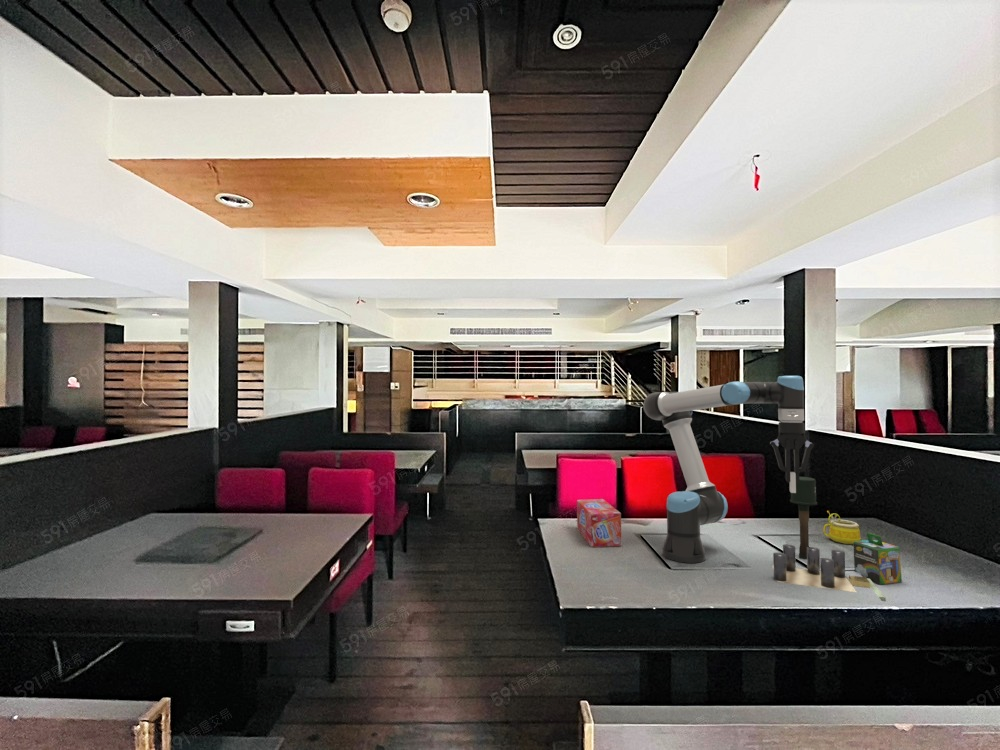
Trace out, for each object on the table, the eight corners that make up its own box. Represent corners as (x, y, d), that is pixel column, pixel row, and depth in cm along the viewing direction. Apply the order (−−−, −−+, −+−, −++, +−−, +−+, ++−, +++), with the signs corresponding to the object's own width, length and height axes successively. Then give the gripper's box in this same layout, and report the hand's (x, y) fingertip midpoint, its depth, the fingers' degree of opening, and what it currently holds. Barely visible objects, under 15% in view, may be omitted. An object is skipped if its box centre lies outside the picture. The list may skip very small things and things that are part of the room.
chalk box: (902, 583, 158) (901, 537, 159) (880, 585, 156) (878, 539, 157) (874, 572, 167) (873, 529, 168) (853, 575, 165) (852, 530, 166)
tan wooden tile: (852, 586, 153) (852, 580, 153) (848, 581, 157) (848, 575, 157) (870, 589, 151) (870, 582, 151) (866, 583, 155) (865, 577, 155)
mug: (859, 540, 204) (859, 511, 204) (862, 547, 194) (861, 517, 195) (823, 535, 211) (822, 507, 211) (823, 542, 201) (822, 512, 202)
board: (777, 586, 156) (777, 581, 156) (772, 569, 171) (772, 565, 171) (885, 601, 145) (885, 596, 145) (869, 581, 159) (869, 577, 159)
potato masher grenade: (823, 565, 174) (821, 480, 175) (796, 563, 176) (794, 479, 177) (812, 557, 183) (811, 476, 184) (787, 555, 185) (785, 475, 186)
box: (576, 528, 222) (575, 498, 222) (604, 528, 222) (604, 498, 223) (590, 548, 194) (590, 513, 195) (622, 547, 195) (622, 513, 196)
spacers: (774, 580, 157) (773, 555, 157) (769, 565, 170) (769, 542, 171) (855, 591, 148) (854, 564, 149) (843, 574, 162) (843, 550, 162)
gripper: (770, 421, 164) (771, 492, 163) (816, 422, 158) (817, 496, 158) (768, 420, 170) (769, 488, 170) (811, 421, 165) (813, 491, 164)
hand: (792, 492), depth 164 cm, fingers closed
